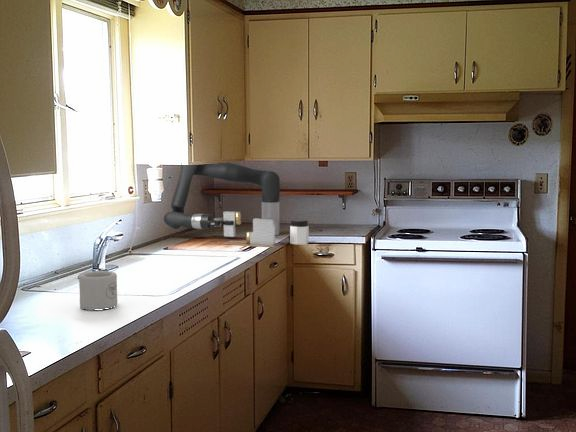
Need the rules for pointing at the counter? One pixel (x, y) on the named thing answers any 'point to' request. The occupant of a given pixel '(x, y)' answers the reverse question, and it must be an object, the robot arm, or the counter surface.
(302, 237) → the jar
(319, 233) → the counter surface
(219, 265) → the counter surface
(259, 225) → the fixed leaf
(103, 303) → the mug
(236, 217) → the brushed metal block
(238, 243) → the jig board
